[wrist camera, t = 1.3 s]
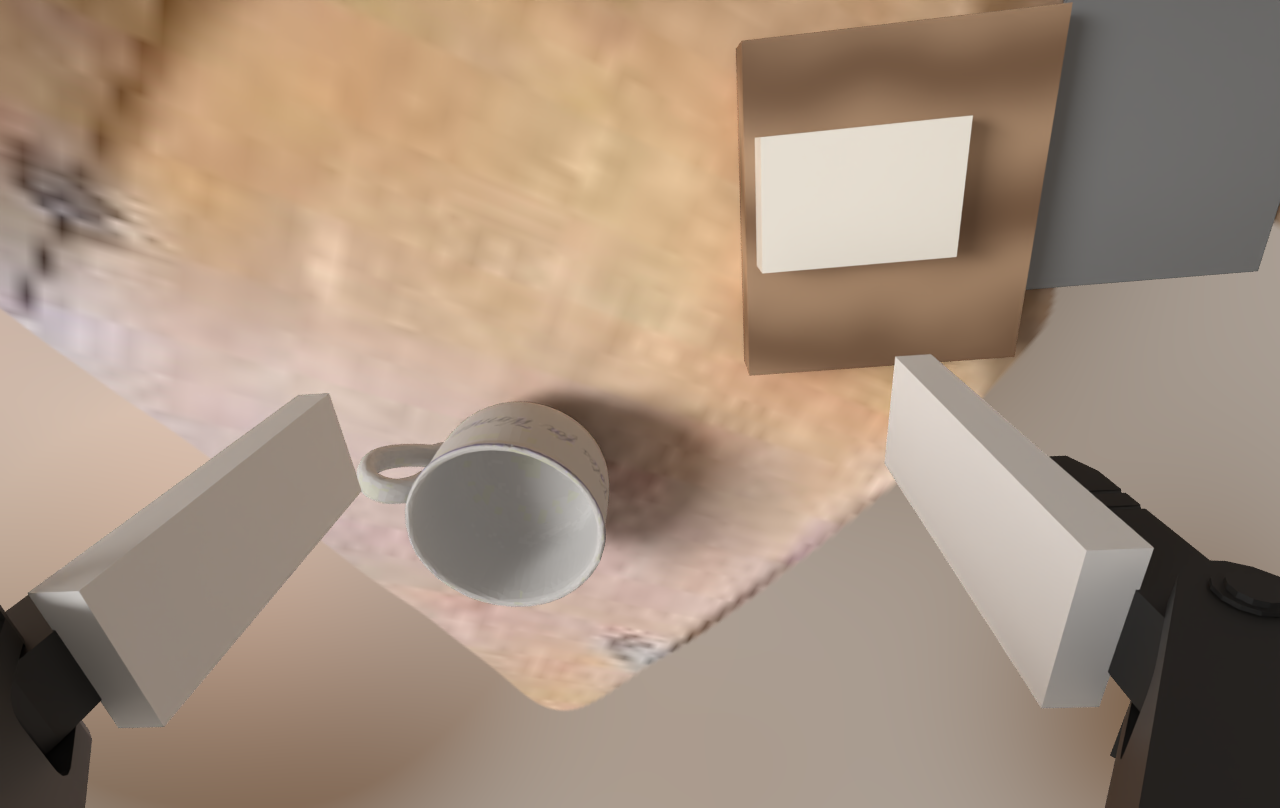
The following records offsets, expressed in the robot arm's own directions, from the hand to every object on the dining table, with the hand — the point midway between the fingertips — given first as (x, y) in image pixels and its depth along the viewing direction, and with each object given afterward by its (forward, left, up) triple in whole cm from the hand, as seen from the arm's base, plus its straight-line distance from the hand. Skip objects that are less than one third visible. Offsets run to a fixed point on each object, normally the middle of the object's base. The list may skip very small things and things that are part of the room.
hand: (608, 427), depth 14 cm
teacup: (+11, -10, -21) cm, 26 cm away
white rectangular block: (-3, +10, -18) cm, 21 cm away
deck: (-2, +12, -21) cm, 24 cm away
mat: (-4, +26, -21) cm, 34 cm away
